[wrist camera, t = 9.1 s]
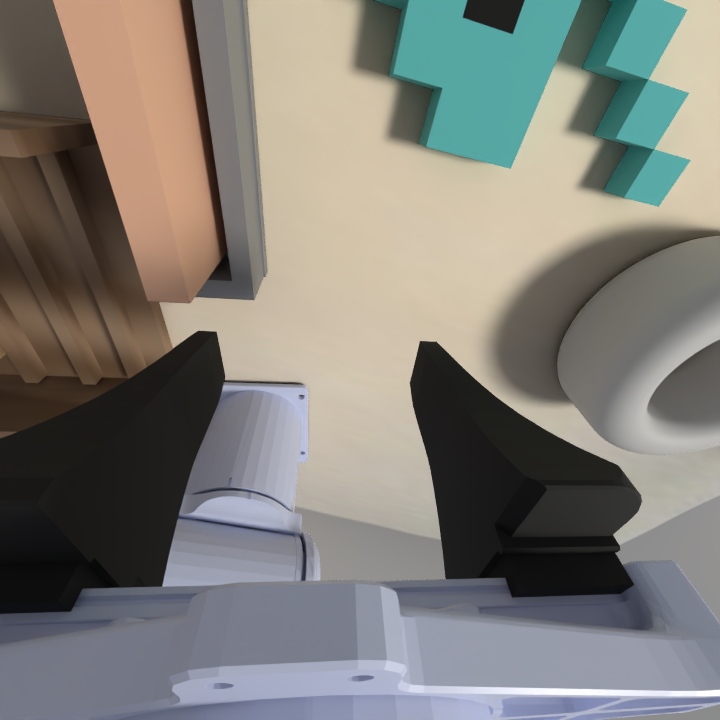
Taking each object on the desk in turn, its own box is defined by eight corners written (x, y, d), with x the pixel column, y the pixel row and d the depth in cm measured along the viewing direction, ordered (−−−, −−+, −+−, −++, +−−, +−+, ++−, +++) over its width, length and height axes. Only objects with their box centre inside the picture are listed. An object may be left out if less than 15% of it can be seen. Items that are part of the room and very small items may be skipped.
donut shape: (764, 173, 19) (925, 200, 14) (772, 337, 27) (879, 394, 22) (520, 323, 25) (570, 383, 19) (583, 425, 32) (632, 489, 27)
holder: (267, 271, 21) (256, 300, 18) (182, 266, 20) (156, 294, 17) (240, -87, 13) (210, -147, 10) (95, -112, 12) (16, -182, 9)
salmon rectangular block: (232, 244, 19) (190, 303, 14) (202, 242, 19) (147, 301, 13) (197, -15, 13) (96, -100, 8) (153, -21, 13) (17, -113, 7)
